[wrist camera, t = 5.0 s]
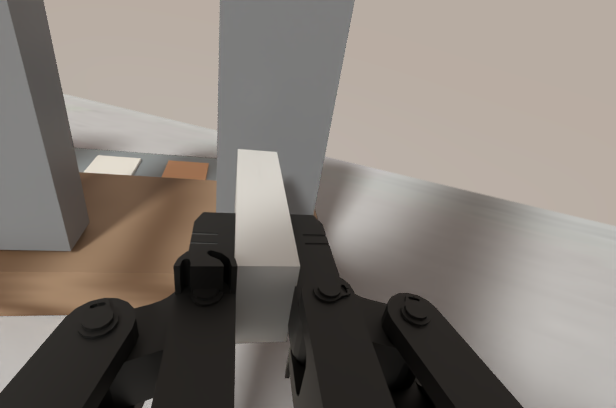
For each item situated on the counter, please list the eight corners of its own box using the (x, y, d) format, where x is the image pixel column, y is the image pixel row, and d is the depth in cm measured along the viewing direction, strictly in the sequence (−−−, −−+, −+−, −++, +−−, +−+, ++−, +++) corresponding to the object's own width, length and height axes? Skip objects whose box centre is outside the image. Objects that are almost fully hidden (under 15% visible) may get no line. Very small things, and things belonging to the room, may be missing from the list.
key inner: (306, 256, 20) (364, -45, 13) (214, 254, 19) (219, -75, 12) (300, 229, 22) (347, -41, 15) (217, 226, 21) (224, -67, 14)
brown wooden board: (302, 217, 29) (308, 186, 28) (324, 311, 21) (334, 274, 19) (-179, 196, 23) (-207, 154, 21) (-425, 321, 14) (-501, 266, 13)
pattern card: (222, 164, 35) (222, 156, 35) (217, 200, 29) (217, 192, 29) (18, 149, 32) (15, 140, 31) (-34, 187, 26) (-38, 177, 25)
